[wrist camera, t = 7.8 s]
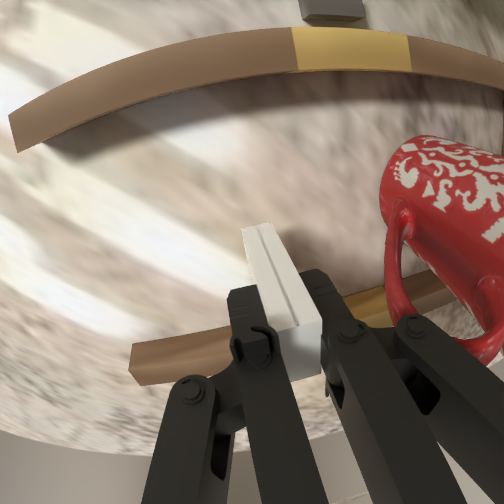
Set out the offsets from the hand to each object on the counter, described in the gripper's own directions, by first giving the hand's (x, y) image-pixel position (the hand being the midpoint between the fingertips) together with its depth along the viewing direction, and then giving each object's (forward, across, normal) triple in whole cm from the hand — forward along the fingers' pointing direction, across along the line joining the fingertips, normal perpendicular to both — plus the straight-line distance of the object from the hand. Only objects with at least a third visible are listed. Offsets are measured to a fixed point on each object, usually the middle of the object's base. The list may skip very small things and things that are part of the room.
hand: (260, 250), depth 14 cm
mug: (+3, +10, 0) cm, 10 cm away
